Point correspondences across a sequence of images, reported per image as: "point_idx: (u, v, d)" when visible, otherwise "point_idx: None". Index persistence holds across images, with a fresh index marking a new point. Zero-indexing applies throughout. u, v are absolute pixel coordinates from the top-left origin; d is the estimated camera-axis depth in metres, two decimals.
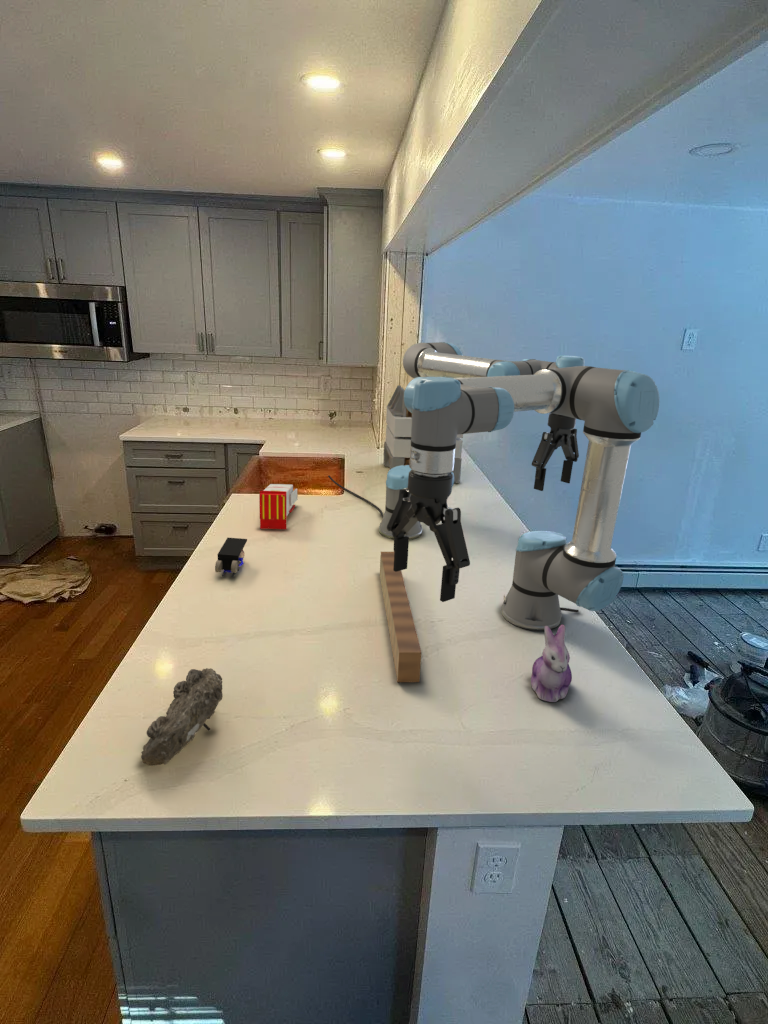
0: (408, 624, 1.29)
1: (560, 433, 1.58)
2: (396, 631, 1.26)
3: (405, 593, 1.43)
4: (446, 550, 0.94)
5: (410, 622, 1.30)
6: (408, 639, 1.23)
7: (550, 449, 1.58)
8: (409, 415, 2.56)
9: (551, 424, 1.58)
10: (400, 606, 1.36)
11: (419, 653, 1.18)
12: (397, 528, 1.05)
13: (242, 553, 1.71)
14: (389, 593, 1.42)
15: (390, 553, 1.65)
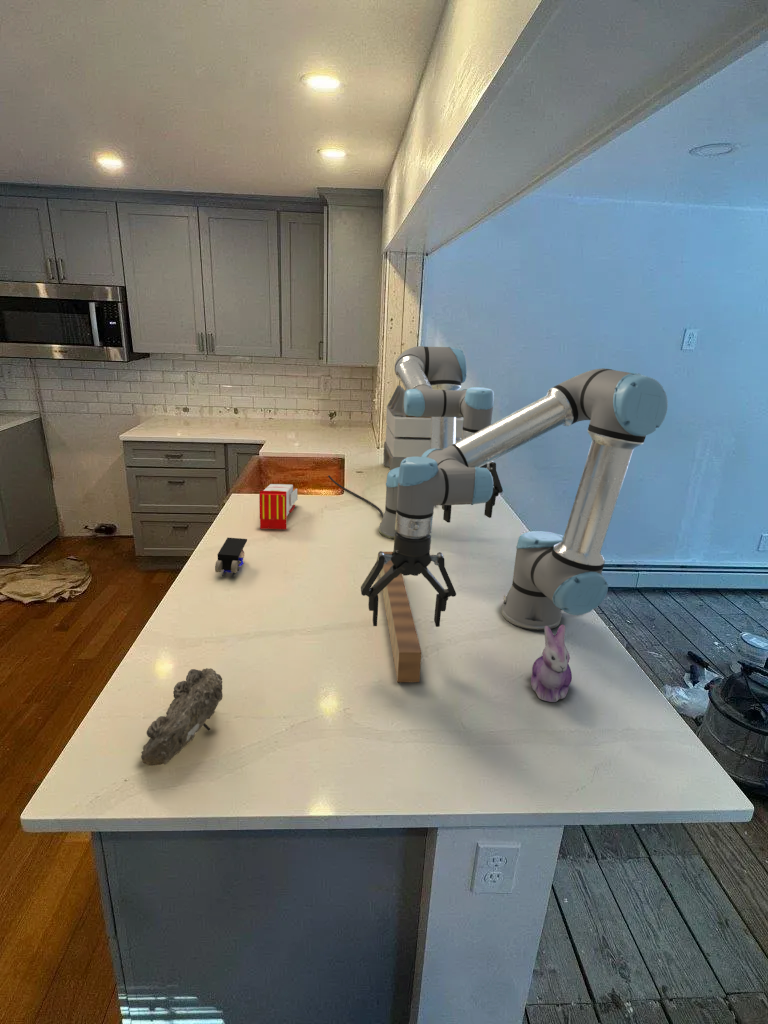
0: (408, 624, 1.29)
1: None
2: (396, 631, 1.26)
3: (405, 593, 1.43)
4: (440, 587, 1.20)
5: (410, 622, 1.30)
6: (408, 639, 1.23)
7: None
8: None
9: None
10: (400, 606, 1.36)
11: (419, 653, 1.18)
12: (377, 589, 1.19)
13: (242, 553, 1.71)
14: (389, 593, 1.42)
15: (390, 553, 1.65)
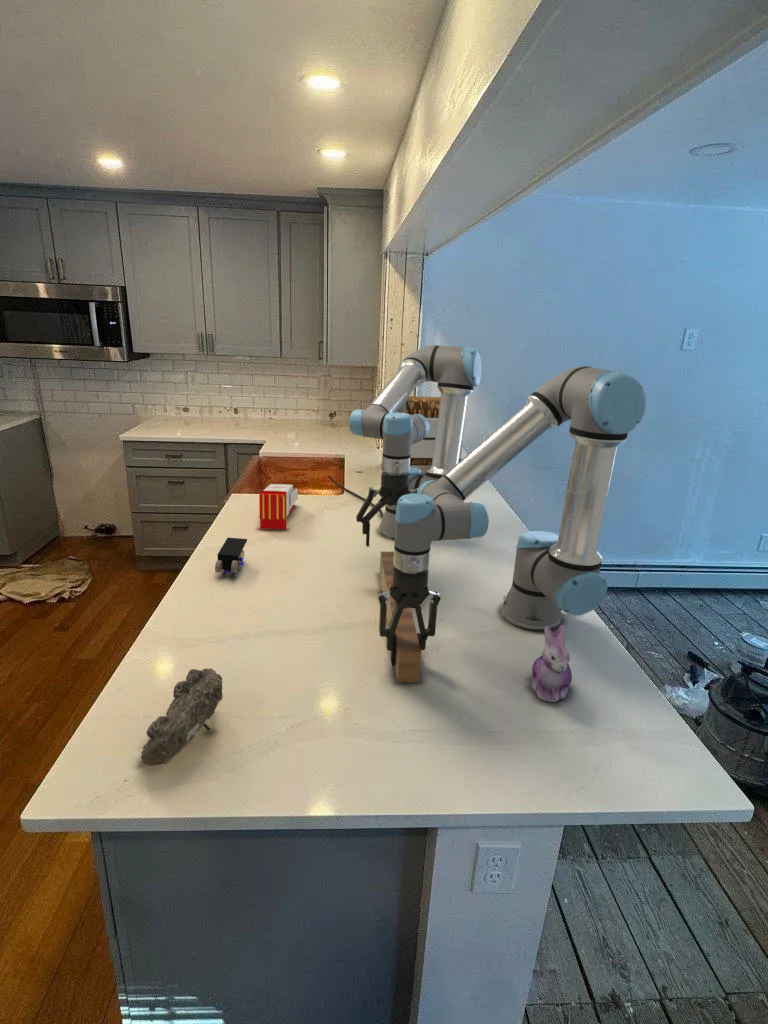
0: (408, 624, 1.29)
1: (389, 492, 1.52)
2: (396, 631, 1.26)
3: None
4: (424, 626, 1.23)
5: (410, 622, 1.30)
6: (408, 639, 1.23)
7: (376, 506, 1.54)
8: None
9: None
10: None
11: (419, 653, 1.18)
12: (391, 630, 1.22)
13: (242, 553, 1.71)
14: None
15: (390, 553, 1.65)
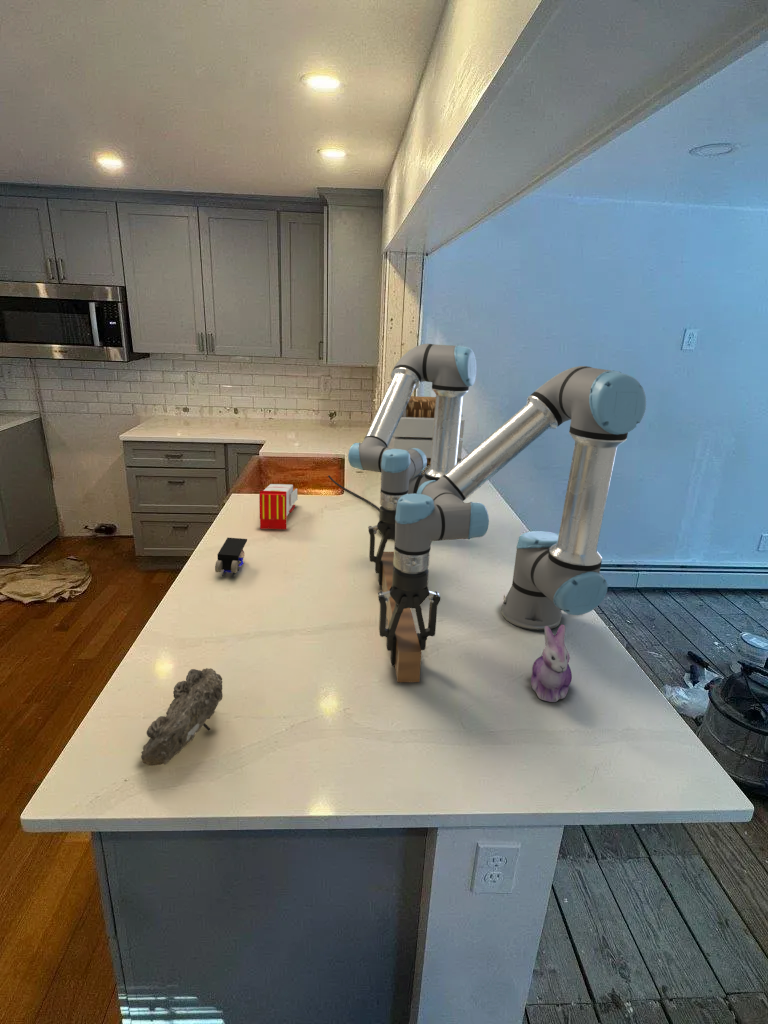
0: (408, 624, 1.29)
1: (387, 526, 1.55)
2: (396, 631, 1.26)
3: None
4: (424, 626, 1.23)
5: (410, 622, 1.30)
6: (408, 639, 1.23)
7: (381, 543, 1.58)
8: (409, 415, 2.56)
9: None
10: None
11: (419, 653, 1.18)
12: (391, 630, 1.22)
13: (242, 553, 1.71)
14: None
15: (390, 553, 1.65)
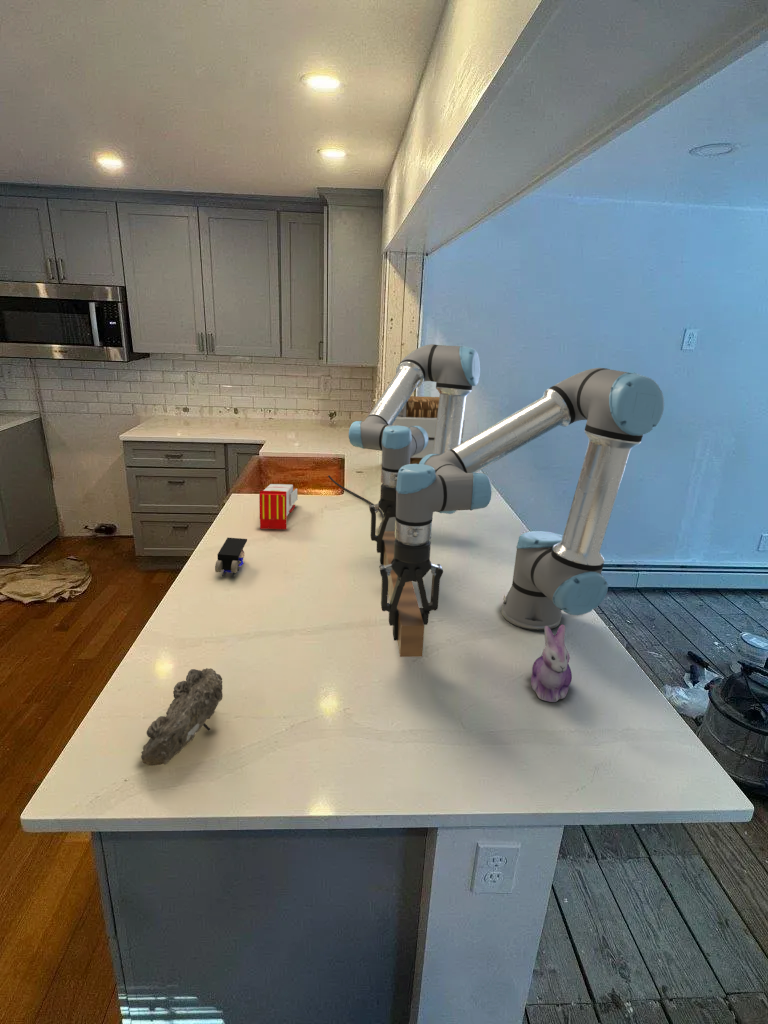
0: (411, 599, 1.27)
1: (388, 504, 1.53)
2: (398, 606, 1.24)
3: None
4: None
5: (412, 597, 1.28)
6: (410, 613, 1.21)
7: (382, 522, 1.55)
8: (409, 415, 2.56)
9: None
10: None
11: (422, 626, 1.16)
12: (393, 604, 1.20)
13: (242, 553, 1.71)
14: (391, 570, 1.40)
15: (391, 533, 1.63)
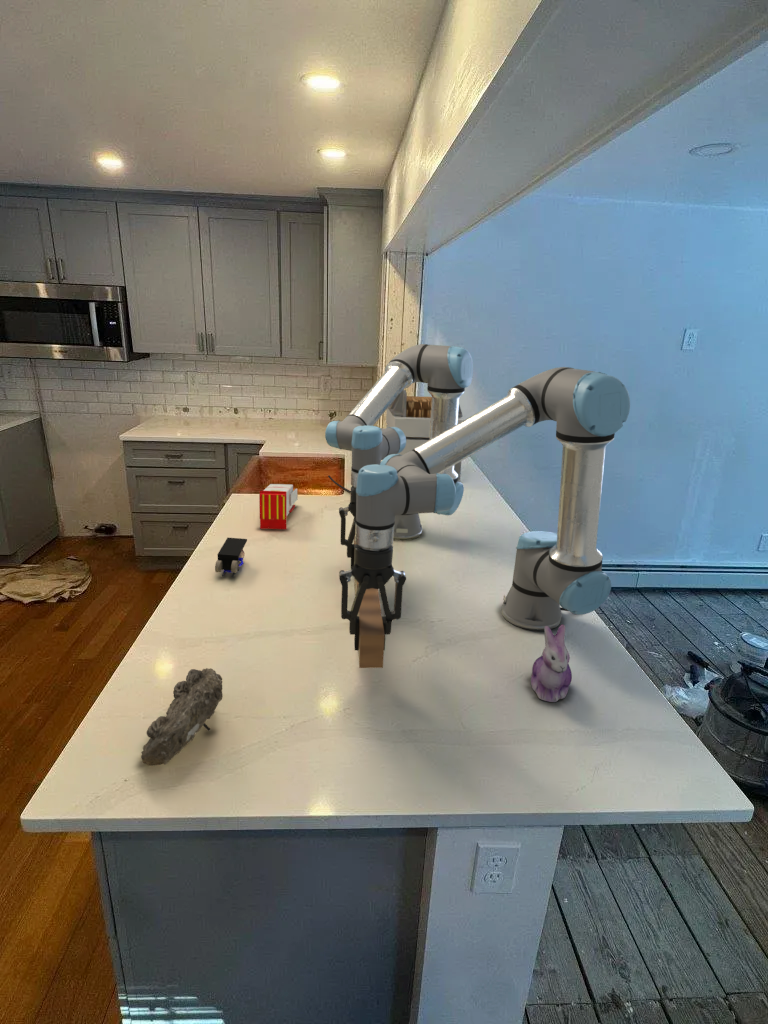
0: (374, 607, 1.20)
1: None
2: (360, 614, 1.18)
3: None
4: None
5: (376, 604, 1.22)
6: (371, 622, 1.15)
7: (352, 526, 1.50)
8: (409, 415, 2.56)
9: None
10: (367, 589, 1.28)
11: (382, 636, 1.10)
12: (354, 611, 1.14)
13: (242, 553, 1.71)
14: None
15: None
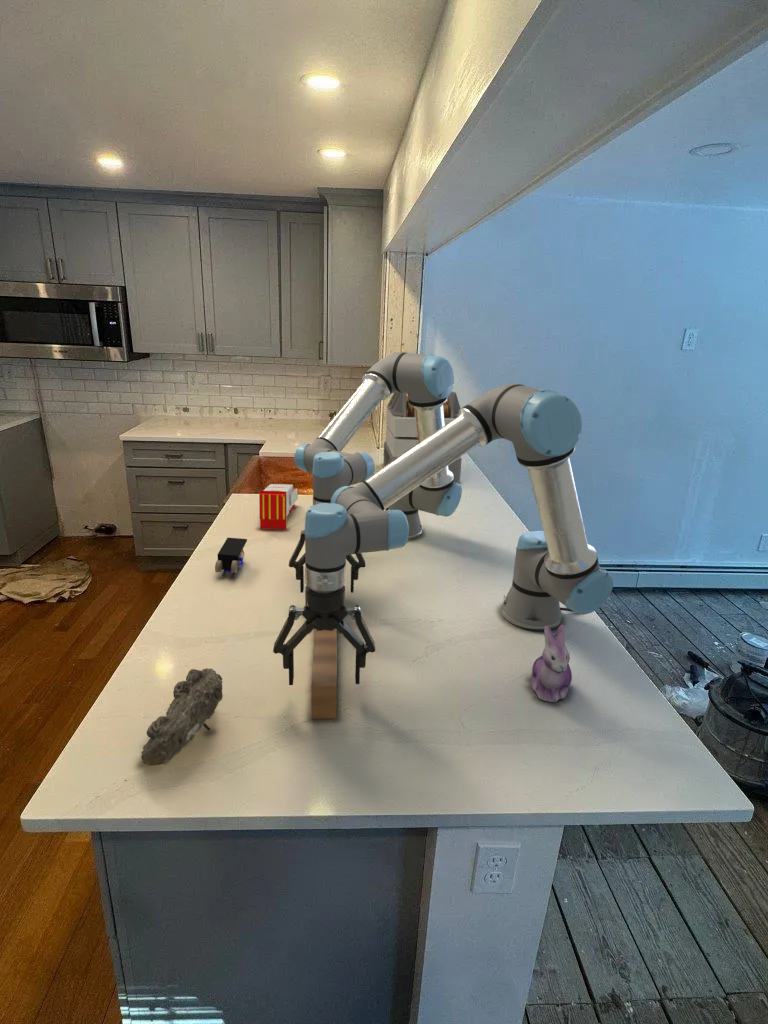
0: (330, 652, 1.17)
1: None
2: (314, 661, 1.14)
3: None
4: (358, 642, 1.10)
5: (332, 649, 1.18)
6: (325, 670, 1.11)
7: None
8: (409, 415, 2.56)
9: None
10: (325, 631, 1.24)
11: (334, 687, 1.07)
12: (290, 647, 1.09)
13: (242, 553, 1.71)
14: None
15: None
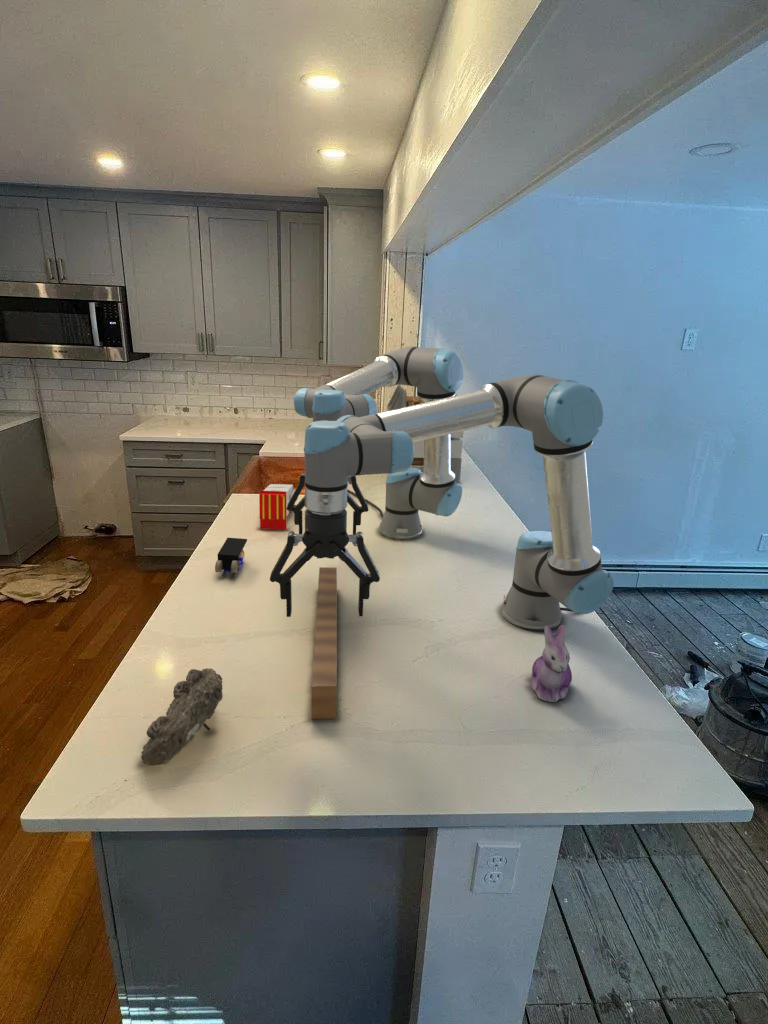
0: (330, 652, 1.17)
1: None
2: (314, 661, 1.14)
3: (335, 615, 1.31)
4: (361, 571, 1.05)
5: (332, 649, 1.18)
6: (325, 670, 1.11)
7: None
8: None
9: None
10: (325, 631, 1.24)
11: (334, 687, 1.07)
12: (287, 575, 1.04)
13: (242, 553, 1.71)
14: (317, 615, 1.30)
15: (329, 569, 1.54)
